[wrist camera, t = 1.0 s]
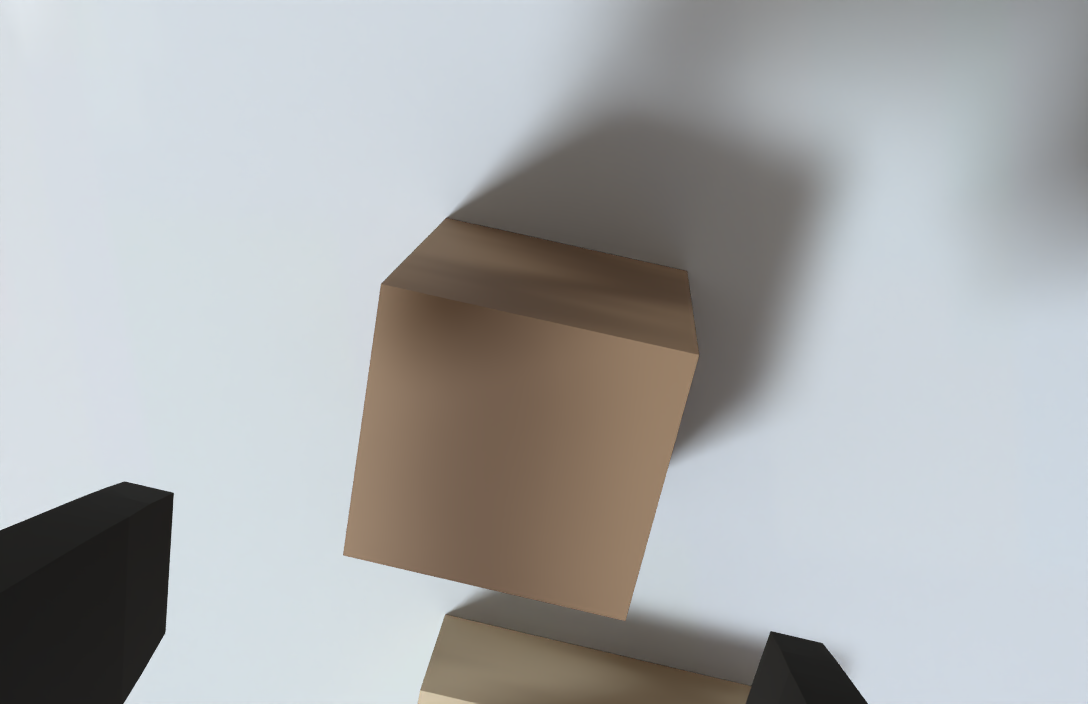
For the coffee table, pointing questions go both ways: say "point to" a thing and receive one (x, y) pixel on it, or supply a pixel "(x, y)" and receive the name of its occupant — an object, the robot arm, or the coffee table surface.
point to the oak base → (554, 673)
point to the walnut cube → (521, 415)
